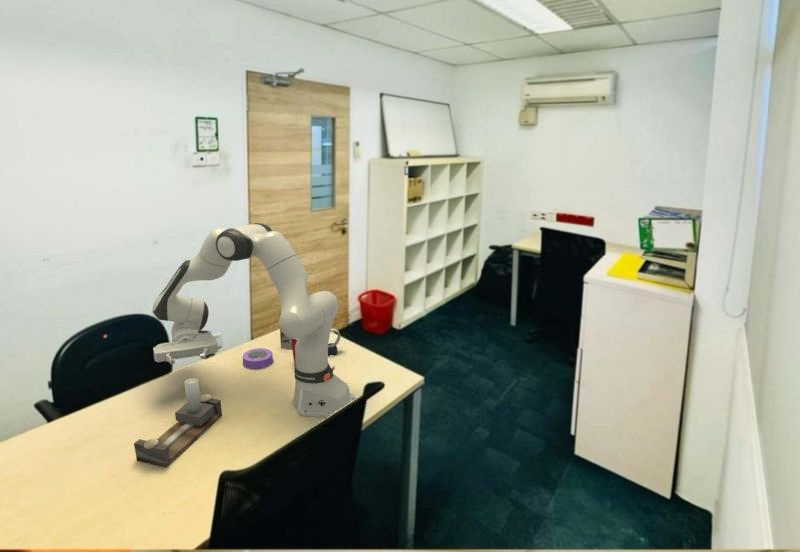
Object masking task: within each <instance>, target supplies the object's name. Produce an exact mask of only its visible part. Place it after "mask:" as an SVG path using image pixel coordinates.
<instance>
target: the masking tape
mask: <svg viewBox="0 0 800 552" xmlns="http://www.w3.org/2000/svg"><path fill="white" fill-rule="evenodd" d="M273 358H274V356H273V352H272V350H270V349H269V348H264V347H262V348H261V347H260V348H253V349H252V348H251V349H248V350H247V351H245V352H244V353H243V354H242V365H243V367H244V368H246V369H248V370H261V369H266V368H268V367H269V366H272V364H273V362H274V359H273Z"/></svg>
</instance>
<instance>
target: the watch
mask: <svg viewBox="0 0 800 552" xmlns="http://www.w3.org/2000/svg"><path fill="white" fill-rule="evenodd" d="M331 332H336V333H337V338H336V339H335V341H334V342H331V343H329V342H328V357H331V356H330V355H334V356H338V347H337V346H338V344H339V343H340V341H341V334H340V332H339V330H338V329H336V328H333V327H332V328H331Z"/></svg>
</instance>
